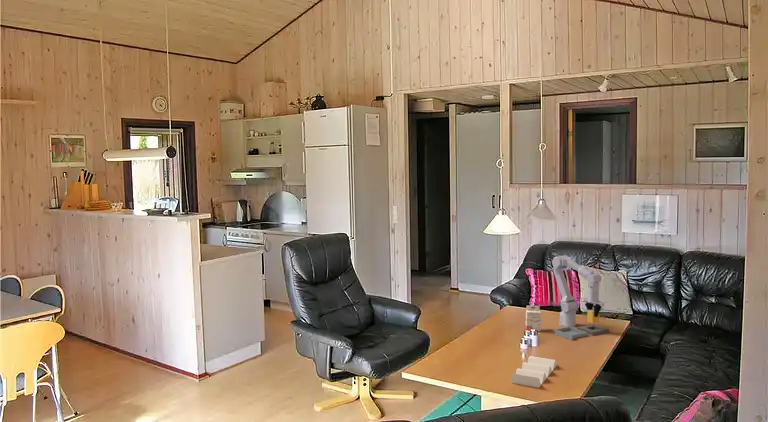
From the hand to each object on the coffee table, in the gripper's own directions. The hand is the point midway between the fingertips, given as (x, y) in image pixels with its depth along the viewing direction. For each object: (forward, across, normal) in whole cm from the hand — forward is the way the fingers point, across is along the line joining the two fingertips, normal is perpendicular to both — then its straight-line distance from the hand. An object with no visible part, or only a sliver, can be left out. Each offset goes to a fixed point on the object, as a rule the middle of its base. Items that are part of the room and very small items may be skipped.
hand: (593, 315), depth 360 cm
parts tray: (+10, -2, -16) cm, 19 cm away
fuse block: (+10, 0, 0) cm, 10 cm away
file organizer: (+11, +36, -78) cm, 86 cm away
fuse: (+4, 0, 0) cm, 4 cm away
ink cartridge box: (+10, -22, -27) cm, 36 cm away
